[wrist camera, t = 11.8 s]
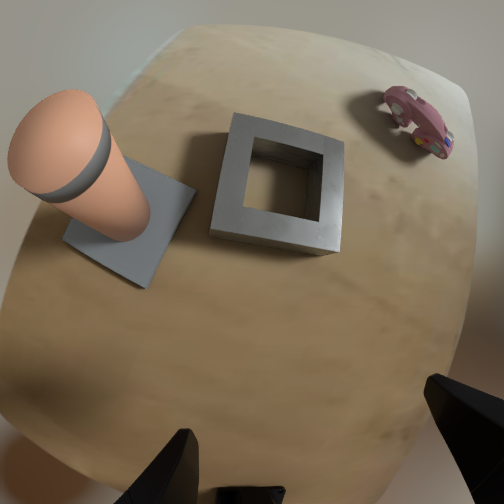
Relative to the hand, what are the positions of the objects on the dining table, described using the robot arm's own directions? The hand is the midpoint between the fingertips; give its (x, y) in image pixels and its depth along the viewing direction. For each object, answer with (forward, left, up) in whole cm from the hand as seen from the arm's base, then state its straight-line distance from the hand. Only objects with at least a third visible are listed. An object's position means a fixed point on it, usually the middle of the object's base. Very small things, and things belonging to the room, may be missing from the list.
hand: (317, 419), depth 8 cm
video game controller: (+24, -15, -12) cm, 31 cm away
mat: (+8, +11, -12) cm, 18 cm away
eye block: (+12, 0, -12) cm, 17 cm away
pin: (+8, +11, -11) cm, 18 cm away
